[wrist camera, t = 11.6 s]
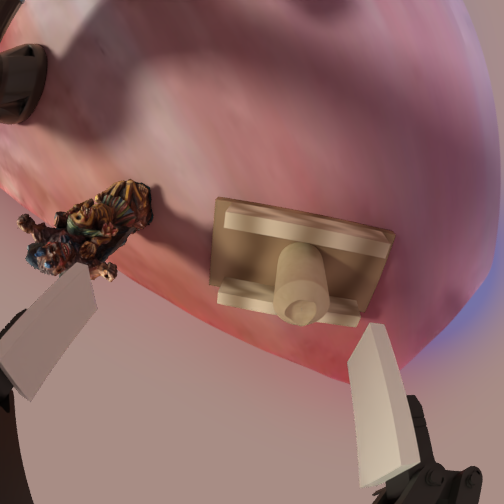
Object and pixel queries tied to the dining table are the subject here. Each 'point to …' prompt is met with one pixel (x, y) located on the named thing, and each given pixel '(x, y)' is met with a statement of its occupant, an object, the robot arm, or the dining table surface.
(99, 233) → the figurine
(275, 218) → the rack
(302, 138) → the dining table surface
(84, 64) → the dining table surface
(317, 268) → the candle
